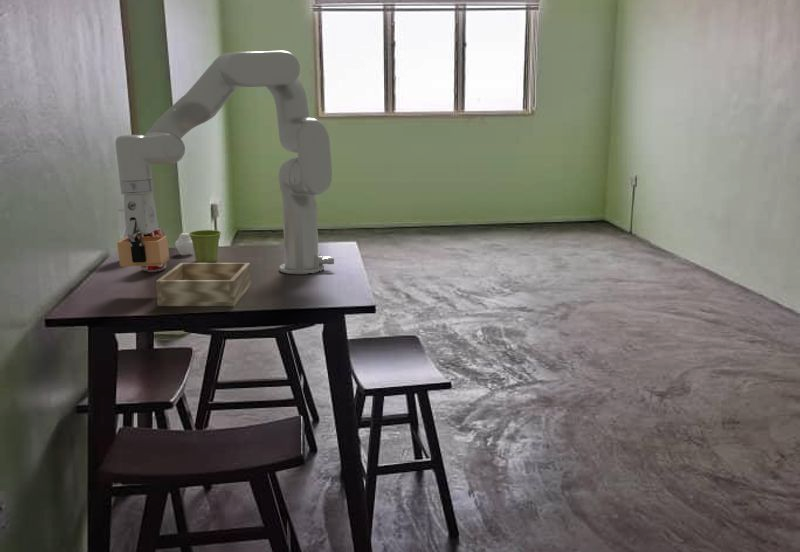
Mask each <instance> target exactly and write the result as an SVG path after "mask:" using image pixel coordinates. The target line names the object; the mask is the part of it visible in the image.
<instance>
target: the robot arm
mask: <svg viewBox="0 0 800 552" xmlns="http://www.w3.org/2000/svg"><path fill="white" fill-rule="evenodd" d="M300 65H301V63H300V62H299V60H298V58H297V57H296V56H295V55H294V54H293V53H292V52H289V51H287V50H270V51H269V50H268V51H234V52H225V53H222V54H220V55H219V56H218V57H217V58H216V59H214V60H213V62H212V63H211V64H210V65H209V66H208V68H207V69H206V70H205V71H204V72H203V73H202V75H201V76H200V77H199V78H198V79H197V80H196V82H195V83H194V84H193V85H192V86H191V88H190V89H188V91H186V92H185V94H184V95H183V96H181V98H179V99H178V100H177V101H176V102H175V103H174V104H172V105H171V106H170V107H169V108H168V109H167V110H166V111H164V113H162V115H160V117H159V118H158V119H157V120H156V121H155V122H154V123H153V125H152V126H151V127H150V128H149V129H148V130H147V132H146V133H145V134H144V135H143V134H126V135H125V134H124V135H119V136H117V138H116V139H115V153H116V159H117V161H116V162H117V168H118V178H119V187H120V195H122V196H123V204H124V205H123V207H124V208H123V209H124V211H125V223H126V230H127V234H128V237H129V241H130V246H131V253H132V261H133V262H134V263H136V262H146V254H145V246H143V236H155V235H154V231H155V230H156V229H157V228H158V227H159V221H158V215H157V214H158V213H157V208H156V202H155V197H154V194H153V193H154V191H155V190H154V183H153V182H154V181H153V174H152V173H153V171H152V170H153V169H152V165H153V164H157V165H158V164H159V165H174V164H176V163H178V162H180V161H181V160H182V159H183V157H184V155H185V153H186V146H185V143H184V141H183V139H182V138H184V137H185V136H186V134H187V133H189V132H190V131H191V130H193V129H194V128H196V127H198V126H200V125H202V124H205V123H207V122H208V121H210V120H211V119H213V118H214V117H215V116H216V115H217V113H219V112H220V111H221V109H222V107H223V106H224V105H225V104H226V103H227V102H228V100H229V99H230V98H231V97H232V96H233V94H234V93H235V92H236V91H237V90H238V89H239V88H259V87H260V88H263V87H265V88H266V89H268V91H269V92H270V94H271V95H272V97H273V99H274V103H275V109H276V117H277V126H278V128H277V129H278V137H279V143H280V145H281V146H282V148H283V149H284V150H286V151H288V152H290V153H296V154H297V156H295V157H291V158H287V159H286V160H285V161H284V162H283V163H282V164H281V165H280V168H279V170H278V183H279V188H280V193H281V200H282V201H281V202H282V216H283V217H282V221H283V245H284V246H283V248H284V249H283V251H284V263H282V264H280V265H279V267H278V269H279V271H280V272H281V273H284V274H290V275H309V274H308V273H312V274H315V273H316V272H317V273H320V272H323V271H324V270H325V265H335V257H331V256H323V255H321V252H320V251H319V233H318V232H319V231H318V230H319V229H318V226H319V225H318V202H317V197H316V196H320V195H322V194H325V192H327V191H328V190H329V188H330V186H331V184H332V180H333V166H332V157H331V156H332V155H331V143H330V136H329V133H328V130H327V128H326V126H325V124H323V122H321V121H320V120H319V119H316V118H314V117H310V112H309V105H308V99H307V94H306V91H305V88H304V85H303V84H302V82H301V80H300V79H299V76H300V73H301V66H300ZM136 232H140V233H136ZM138 237H140V238H139V239H138ZM323 269H324V270H323ZM322 270H323V271H322ZM319 271H320V272H319Z"/></svg>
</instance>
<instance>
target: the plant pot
mask: <svg viewBox="0 0 800 552" xmlns="http://www.w3.org/2000/svg"><path fill="white" fill-rule="evenodd" d="M188 233H189V235H190V237H191V240H192V243H193V248H194V250H193V253H194V257H195V258H194V259H195V261H196V263H216V262H218V255H219V254H218V253H219V243H220V238H221V235H222V232H221V231H220V230H214V229H202V230H195V231H190V232H188Z"/></svg>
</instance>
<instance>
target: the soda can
mask: <svg viewBox="0 0 800 552" xmlns="http://www.w3.org/2000/svg"><path fill="white" fill-rule="evenodd" d="M154 235H155V236H165V233H164V231H163V230H162V227H161V226H158V228H157V229H156V230H155V231H154ZM140 268H141V270H142V271H145V272H146V271H147V273H156V272H157V271H158V272H161V271H164V269H166V268H167V261H166V262H165V263H164V264H162V265H161V266H140ZM158 272H157V273H158Z"/></svg>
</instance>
